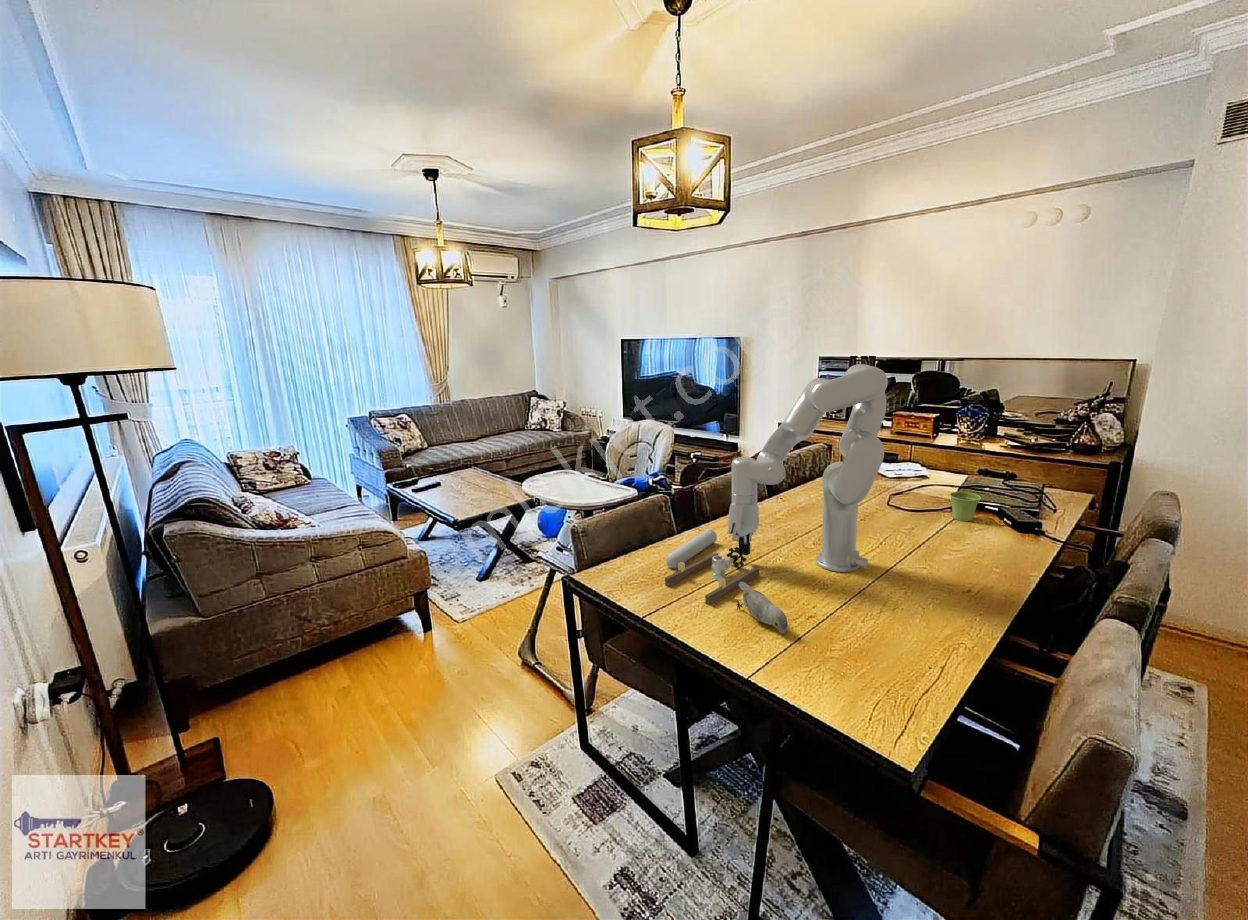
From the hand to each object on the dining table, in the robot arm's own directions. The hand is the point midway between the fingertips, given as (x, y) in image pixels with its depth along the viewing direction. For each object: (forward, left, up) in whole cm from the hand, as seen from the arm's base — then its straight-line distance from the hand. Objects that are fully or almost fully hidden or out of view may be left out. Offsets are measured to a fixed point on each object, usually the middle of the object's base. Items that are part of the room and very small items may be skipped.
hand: (744, 553), depth 160 cm
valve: (0, +9, -4) cm, 10 cm away
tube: (+16, +7, -4) cm, 18 cm away
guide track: (0, +16, -3) cm, 16 cm away
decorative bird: (-23, +24, -4) cm, 33 cm away
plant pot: (-36, -80, -3) cm, 88 cm away
